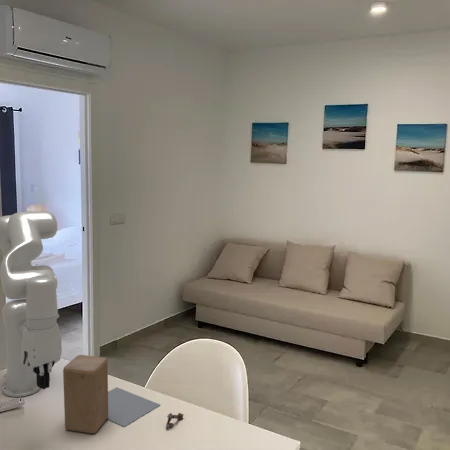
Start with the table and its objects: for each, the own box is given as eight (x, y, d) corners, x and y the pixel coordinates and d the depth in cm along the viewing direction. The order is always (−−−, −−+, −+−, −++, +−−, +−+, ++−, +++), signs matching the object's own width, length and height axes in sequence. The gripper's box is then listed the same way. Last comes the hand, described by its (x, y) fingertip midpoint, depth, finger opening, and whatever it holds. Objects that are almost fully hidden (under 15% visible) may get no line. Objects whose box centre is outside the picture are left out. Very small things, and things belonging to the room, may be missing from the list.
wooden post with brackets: (162, 428, 149) (166, 412, 151) (175, 426, 156) (179, 412, 157) (167, 429, 149) (171, 414, 150) (180, 428, 156) (183, 413, 157)
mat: (79, 406, 162) (79, 406, 161) (116, 387, 175) (116, 387, 175) (124, 427, 151) (124, 426, 151) (160, 405, 164) (160, 404, 164)
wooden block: (95, 435, 146) (93, 371, 142) (63, 430, 148) (61, 367, 144) (109, 417, 155) (108, 356, 152) (80, 413, 157) (78, 353, 154)
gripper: (55, 312, 142) (57, 374, 145) (8, 326, 130) (10, 393, 132) (73, 317, 138) (74, 381, 141) (25, 332, 126) (27, 401, 128)
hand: (43, 386), depth 136 cm, fingers closed
